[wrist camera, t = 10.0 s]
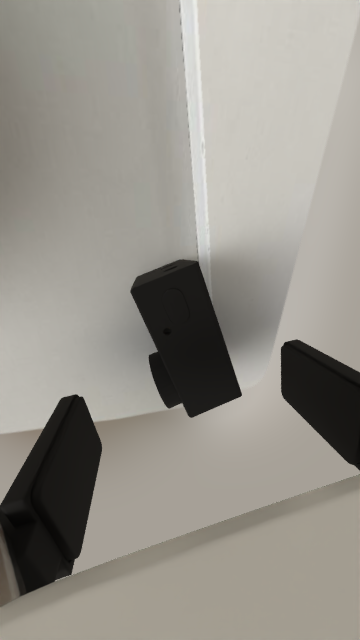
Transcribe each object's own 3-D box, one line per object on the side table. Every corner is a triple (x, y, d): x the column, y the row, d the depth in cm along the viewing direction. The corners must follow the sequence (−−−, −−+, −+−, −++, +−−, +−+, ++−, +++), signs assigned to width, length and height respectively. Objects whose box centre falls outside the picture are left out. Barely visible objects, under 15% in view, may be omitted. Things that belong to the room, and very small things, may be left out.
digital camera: (122, 281, 18) (108, 296, 11) (179, 258, 18) (198, 259, 12) (166, 373, 21) (175, 426, 15) (213, 353, 22) (243, 397, 15)
